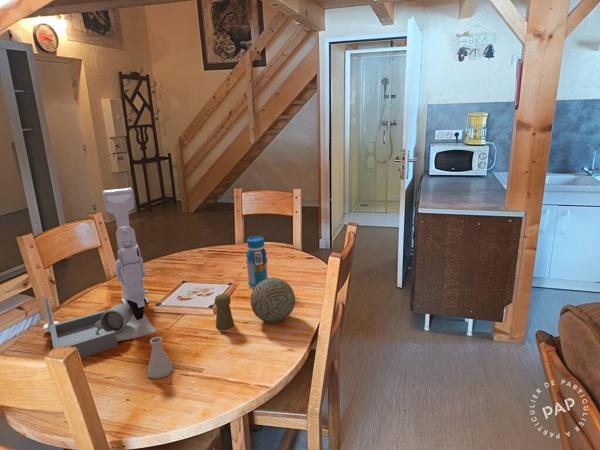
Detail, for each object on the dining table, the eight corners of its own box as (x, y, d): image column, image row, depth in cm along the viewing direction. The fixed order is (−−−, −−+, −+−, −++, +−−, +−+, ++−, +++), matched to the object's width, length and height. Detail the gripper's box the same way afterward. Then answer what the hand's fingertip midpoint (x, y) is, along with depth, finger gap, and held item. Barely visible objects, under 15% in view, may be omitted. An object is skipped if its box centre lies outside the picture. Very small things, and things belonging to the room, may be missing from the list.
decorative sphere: (267, 306, 149) (264, 268, 145) (303, 314, 142) (302, 274, 138) (243, 325, 136) (239, 284, 132) (282, 335, 129) (279, 292, 125)
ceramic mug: (133, 323, 138) (133, 302, 137) (124, 334, 130) (124, 311, 129) (101, 321, 137) (100, 300, 136) (90, 332, 129) (89, 309, 128)
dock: (53, 341, 132) (49, 325, 131) (143, 315, 148) (141, 300, 146) (58, 368, 118) (53, 350, 116) (158, 336, 133) (155, 319, 132)
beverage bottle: (244, 287, 165) (240, 240, 160) (254, 279, 173) (251, 234, 167) (263, 290, 162) (259, 242, 157) (272, 282, 170) (269, 236, 164)
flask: (150, 364, 117) (145, 333, 114) (176, 362, 117) (172, 331, 115) (143, 380, 110) (138, 348, 107) (170, 378, 110) (166, 346, 108)
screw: (61, 331, 136) (44, 336, 134) (60, 325, 140) (44, 330, 138) (53, 296, 133) (36, 300, 130) (52, 291, 137) (36, 295, 134)
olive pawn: (230, 330, 133) (227, 300, 130) (212, 329, 134) (209, 299, 131) (236, 321, 139) (234, 292, 136) (220, 320, 140) (217, 291, 137)
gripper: (151, 285, 130) (157, 323, 134) (140, 272, 142) (145, 307, 146) (128, 291, 127) (135, 330, 130) (118, 277, 138) (124, 313, 142)
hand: (139, 318), depth 138 cm, fingers closed
